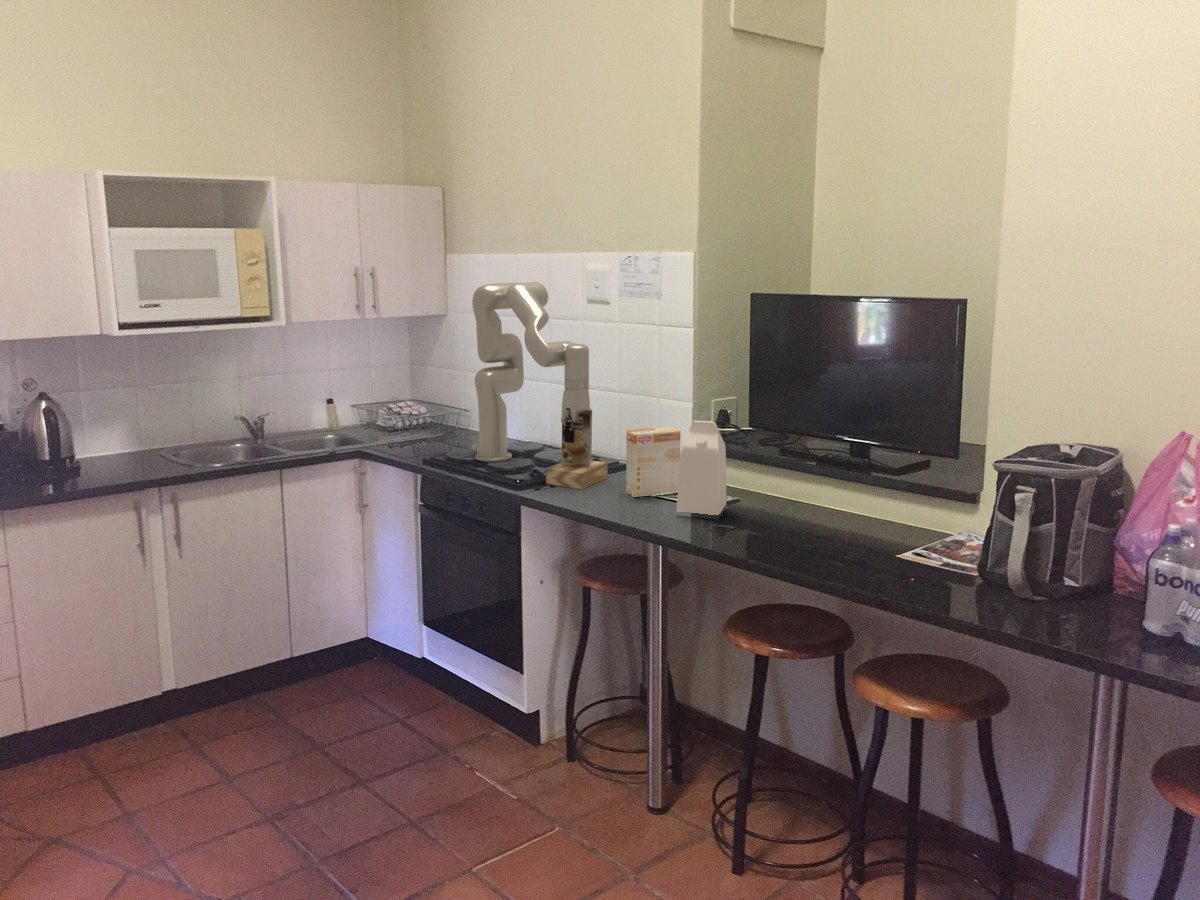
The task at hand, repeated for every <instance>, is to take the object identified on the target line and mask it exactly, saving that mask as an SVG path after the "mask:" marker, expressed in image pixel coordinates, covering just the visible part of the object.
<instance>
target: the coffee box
mask: <svg viewBox="0 0 1200 900" xmlns="http://www.w3.org/2000/svg"><path fill="white" fill-rule="evenodd" d="M567 420H572V418H571V415H569V417H568V418H567ZM569 425H571V423H569ZM573 430H574V443H568V442H565V441H564V429H563V426H562V425H561V461H560V463H571V464H590V462H591V461H592V448H593V447H592V443H593V442H592V438H593V435H592V434H593V410H592V411H586V412H583V413H580V414H579V418H578V421H577V422H575V424H574V427H573Z"/></svg>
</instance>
